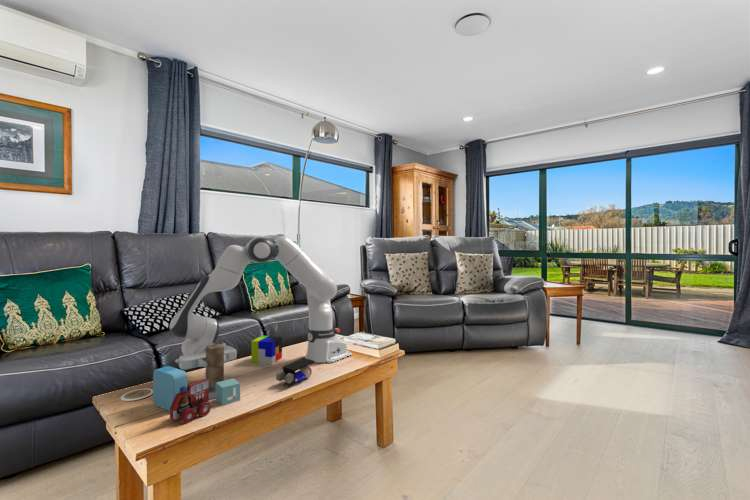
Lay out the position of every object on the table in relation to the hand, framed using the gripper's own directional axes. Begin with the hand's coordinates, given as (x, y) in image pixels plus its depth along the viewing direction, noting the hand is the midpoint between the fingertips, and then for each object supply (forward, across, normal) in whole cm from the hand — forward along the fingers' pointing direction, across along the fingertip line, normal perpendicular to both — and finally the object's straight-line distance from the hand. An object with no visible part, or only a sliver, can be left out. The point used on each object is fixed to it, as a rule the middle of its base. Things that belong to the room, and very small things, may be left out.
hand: (215, 363), depth 134 cm
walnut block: (-1, 0, +7) cm, 7 cm away
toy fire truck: (+16, -13, +10) cm, 23 cm away
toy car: (+12, +26, +10) cm, 31 cm away
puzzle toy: (-20, +30, +10) cm, 38 cm away
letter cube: (+11, 0, +10) cm, 15 cm away
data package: (+3, -16, +10) cm, 19 cm away
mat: (-1, 0, +10) cm, 10 cm away
